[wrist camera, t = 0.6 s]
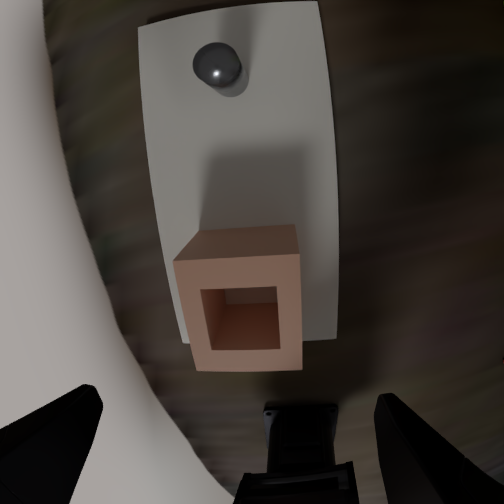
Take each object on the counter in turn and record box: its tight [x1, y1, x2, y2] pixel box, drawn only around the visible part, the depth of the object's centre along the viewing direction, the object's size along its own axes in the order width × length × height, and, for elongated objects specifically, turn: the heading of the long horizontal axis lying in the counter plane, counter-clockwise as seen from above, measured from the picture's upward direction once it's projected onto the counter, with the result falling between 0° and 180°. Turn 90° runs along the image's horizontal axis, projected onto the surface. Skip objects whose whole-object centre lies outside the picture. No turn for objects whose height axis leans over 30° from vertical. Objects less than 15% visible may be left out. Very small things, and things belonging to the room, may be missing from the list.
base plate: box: [138, 1, 339, 343], centre depth 18 cm, size 22×11×1 cm, turn 5°
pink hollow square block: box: [172, 224, 302, 372], centre depth 17 cm, size 7×6×5 cm
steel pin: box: [193, 42, 249, 97], centre depth 14 cm, size 2×2×4 cm
